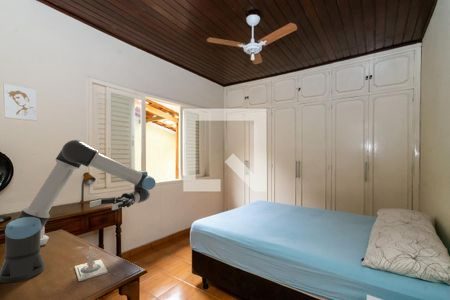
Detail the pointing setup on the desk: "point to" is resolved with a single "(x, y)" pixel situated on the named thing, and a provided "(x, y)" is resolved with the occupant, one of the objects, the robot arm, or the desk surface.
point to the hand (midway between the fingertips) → (101, 205)
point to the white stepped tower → (90, 261)
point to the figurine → (43, 237)
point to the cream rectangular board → (89, 274)
